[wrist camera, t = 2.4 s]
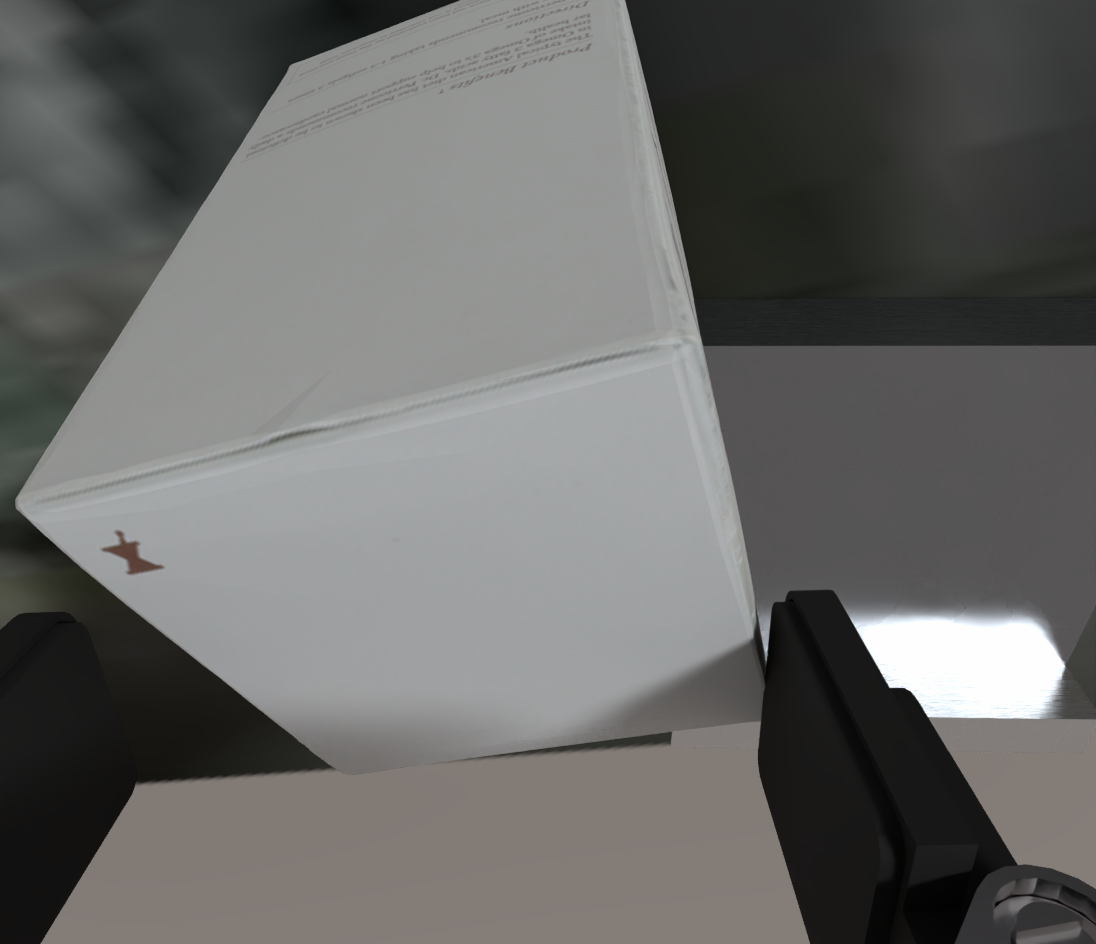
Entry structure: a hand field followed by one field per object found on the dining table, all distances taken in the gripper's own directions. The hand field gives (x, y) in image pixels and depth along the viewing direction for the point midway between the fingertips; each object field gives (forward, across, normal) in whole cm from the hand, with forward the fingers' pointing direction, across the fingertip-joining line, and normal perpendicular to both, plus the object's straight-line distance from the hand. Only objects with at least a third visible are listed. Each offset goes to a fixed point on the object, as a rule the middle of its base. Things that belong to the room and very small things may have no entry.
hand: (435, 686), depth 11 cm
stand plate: (+13, -11, +4) cm, 18 cm away
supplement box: (+11, -1, -6) cm, 13 cm away
